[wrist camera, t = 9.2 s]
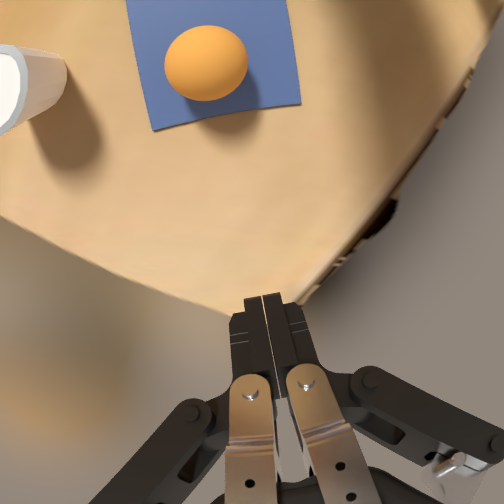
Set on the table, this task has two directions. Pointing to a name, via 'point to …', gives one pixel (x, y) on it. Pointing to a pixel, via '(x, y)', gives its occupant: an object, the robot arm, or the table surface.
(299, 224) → the table surface
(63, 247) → the table surface
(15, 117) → the white cup
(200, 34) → the ball
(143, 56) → the mark
